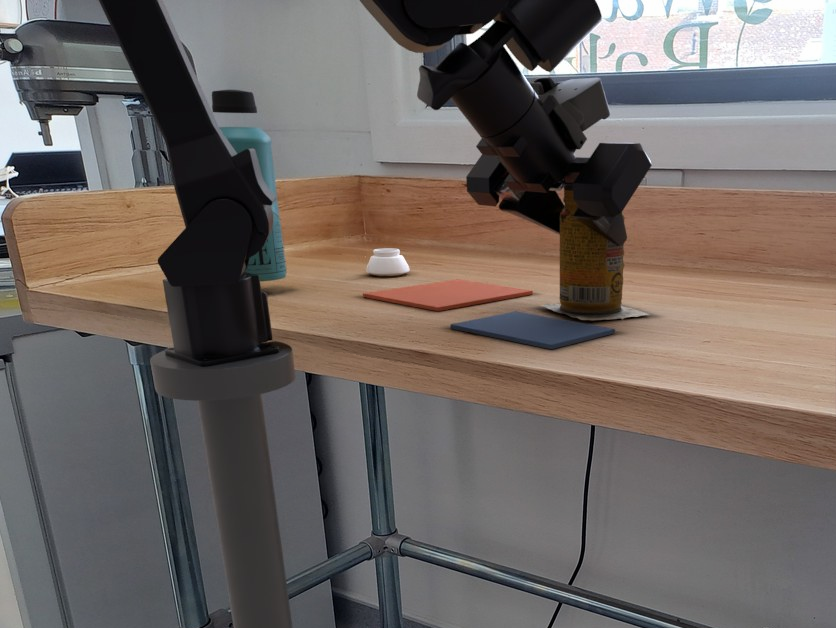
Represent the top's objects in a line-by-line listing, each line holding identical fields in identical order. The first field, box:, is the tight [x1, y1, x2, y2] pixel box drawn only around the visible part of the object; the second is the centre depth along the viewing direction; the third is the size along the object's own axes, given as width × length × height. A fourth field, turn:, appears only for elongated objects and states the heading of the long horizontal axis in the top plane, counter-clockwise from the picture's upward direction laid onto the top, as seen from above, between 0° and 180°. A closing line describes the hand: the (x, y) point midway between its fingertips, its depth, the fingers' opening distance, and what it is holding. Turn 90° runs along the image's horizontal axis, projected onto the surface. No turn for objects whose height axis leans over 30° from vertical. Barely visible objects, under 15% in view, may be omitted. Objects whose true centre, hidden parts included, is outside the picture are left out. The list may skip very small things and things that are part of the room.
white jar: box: [365, 247, 410, 277], centre depth 103 cm, size 5×3×5 cm
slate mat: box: [450, 311, 616, 350], centre depth 73 cm, size 8×12×1 cm, turn 50°
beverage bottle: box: [211, 89, 287, 283], centre depth 88 cm, size 6×7×20 cm
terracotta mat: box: [362, 278, 534, 312], centre depth 90 cm, size 13×12×1 cm
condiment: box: [540, 185, 650, 321], centre depth 80 cm, size 7×8×12 cm
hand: (599, 239), depth 81 cm, fingers closed on condiment, 6 cm apart
